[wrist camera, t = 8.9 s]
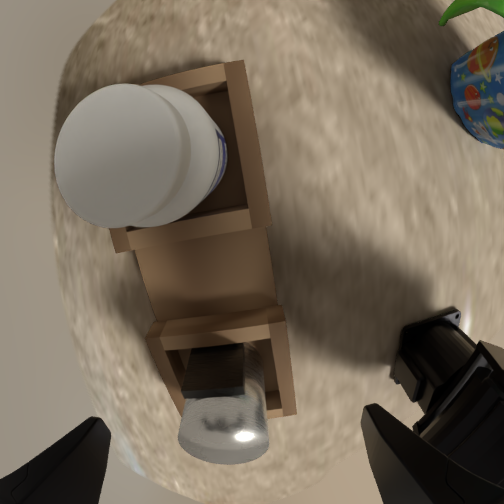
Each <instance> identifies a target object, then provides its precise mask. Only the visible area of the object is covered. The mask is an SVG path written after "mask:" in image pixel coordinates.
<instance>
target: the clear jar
mask: <svg viewBox="0 0 504 504" xmlns="http://www.w3.org/2000/svg"><path fill="white" fill-rule="evenodd" d="M181 393H182V395H183V397H184V399H186V401H185V405H184V410H183V414H182V419H181V424H180V428H179V433H178V441H179V444H180V446H181V447H182V448H183V449H184V450H185V451H186V452H187V453H189V454H190V455H192V456H194V457H196V458H198V459H200V460H203V461H206V462H211V463H216V464H227V465H228V464H241V463H246V462H250V461H253V460H255V459H257V458H259V457H261V456H262V455H263V454H264V453H265V452H266V451H267V450H268V447H269V435H268V422H267V410H266V398H265V385H264V373H263V362H262V358H261V355H260V354H259V352H258V351H257V350H256V349H255V348H254V347H253V346H252V345H250V344H249V343H247V342H241V343H234V344H226V345H217V346H208V347H199V348H192V349H191V353H190V357H189V361H188V365H187V369H186V372H185V376H184V380H183V384H182V388H181Z"/></svg>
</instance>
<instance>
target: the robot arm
mask: <svg viewBox="0 0 504 504" xmlns="http://www.w3.org/2000/svg"><path fill="white" fill-rule="evenodd" d="M460 318H461V312H460V311H459V310H457V309H456V310H453V311H450V312H447V313H445V314H442V315H439V316H436V317H433V318H430V319H427V320H424V321H421V322H417V323H414V324H411V325H408V326H405V327H404V328H403V329H402V331H401V338H400V345H399V351H398V353H397V358H396V364H395V370H394V374H395V375H394V382H395V383H396V384H401V385H402V387H403V389H404V390H405V392H406V394H407V395H408V397H409V399H410V400H411V401H412V402H413V403H414V402H418V404H419V406H420V407H421V409H422V411H423V412H424V414H425V415H424V416H423V417H422V418H421V419H420V420H419V421H417V422H416V423H415V424H414V425H413V426H412V427H413V431H412V430H411V429H409V428H408V427H407V426H405V425H404V424H403V423H402V422H400V421H399V420H398V419H396V418H395V417H394V416H392V415H391V414H390V413H389V412H387V411H386V410H385V409H384V408H382V407H381V406H380V405H378V404H377V403H373V404H370V405H366V406H365V407H364V409H363V413H362V418H361V427H362V432H363V436H364V441H365V445H366V450H367V454H368V459H369V463H370V466H371V469H372V472H373V475H374V478H375V480H376V483H377V486H378V489H379V492H380V495H381V498H382V501H383V504H504V349H503V348H501V347H498V346H495V345H492V344H490V343H487V342H484V341H481V340H479V342H478V344H477V345H476V344H475V343H474V342H473V341H472V340H471V339H470V338H469V337H468V336H467V335H466V334H465V333H464V332H463V331H462V330H461V329H460V328H459V322H460ZM407 331H408V332H407ZM406 332H407V333H406ZM110 440H111V432H110V430H109V429H108V427H107V426H106V424H105V423H104V421H103V420H102V419H101V418H99V417H93V416H92V417H89V418H88V419H86V420H85V421H84V422H82V423H81V424H80V425H79V426H77V427H76V428H75V429H73V430H72V431H70V432H69V433H68V434H66V435H65V436H64V437H63V438H61V439H60V440H58V441H57V442H55V443H54V444H53V445H51V446H50V447H49V448H47V449H46V450H44V451H43V452H42V453H40V454H39V455H38V456H36V457H35V458H33V459H32V460H30V461H29V462H28V463H26V464H25V465H23V466H22V467H20V468H19V469H17V470H16V471H14V472H12V473H11V474H9V475H7V476H5V477H3V478H2V479H0V504H98V503H99V498H100V494H101V489H102V485H103V481H104V477H105V472H106V468H107V460H108V454H109V447H110Z"/></svg>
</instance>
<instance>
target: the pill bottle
mask: <svg viewBox="0 0 504 504" xmlns="http://www.w3.org/2000/svg"><path fill="white" fill-rule="evenodd" d="M227 161H228V150H227V144H226V141H225V138H224V135H223V134H222V132H221V130H220V128H219V127H218V126H217V124H216V123H215V122H214V121H213V120H212V119H211V117H210V116H209V115H208V113H207V112H206V111H205V109H204V108H203V107H202V106H201V105H200V104H199V103H198V102H197V101H196V100H195V99H194V98H193V97H191V96H190V95H189V94H187V93H185V92H183V91H181V90H179V89H177V88H174V87H170V86H165V85H144V86H139V85H135V84H127V83H126V84H115V85H109V86H106V87H103V88H101V89H99V90H97V91H95V92H93V93H91V94H90V95H88V96H87V97H86V98H84V99H83V100H82V101H81V102H80V103H78V104H77V106H76V107H75V108H74V109H73V110H72V112H71V113H70V114H69V116H68V117H67V119H66V121H65V122H64V124H63V126H62V128H61V131H60V133H59V136H58V139H57V143H56V148H55V155H54V168H55V176H56V181H57V185H58V188H59V190H60V193H61V195H62V197H63V199H64V200H65V202H66V204H67V205H68V206H69V207H70V208H71V210H72V211H73V212H74V213H75V214H76V215H78V216H79V217H80V218H82V219H83V220H85V221H87V222H89V223H91V224H93V225H96V226H99V227H104V228H122V227H126V226H135V227H155V226H161V225H165V224H168V223H170V222H173V221H175V220H177V219H179V218H181V217H183V216H184V215H186V214H188V213H189V212H190V211H191V210H193V209H194V208H195V207H196V206H197V205H198V204H199V203H201V202H202V201H203V200H204V199H205V198H206V197H207V196H208V195H209V194H210V193H211V192H212V191H213V190H214V189H215V188H216V186H217V185H218V184H219V182H220V181H221V179H222V177H223V175H224V173H225V170H226V166H227Z"/></svg>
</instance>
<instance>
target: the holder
mask: <svg viewBox="0 0 504 504" xmlns="http://www.w3.org/2000/svg"><path fill="white" fill-rule="evenodd" d="M144 85H165V86H170V87H174V88H177V89H179V90H181V91H183V92H185V93H187V94H189V95H190V96H191V97H193V98H194V99H195V100H196V101H197V102H198V103H199V104H200V105H201V106H202V107H203V108H204V109H205V111H206V112H207V113H208V115H209V116H210V117H211V119H212V120H213V121H214V122H215V123H216V124H217V126H218V127H219V128H220V130H221V132H222V134H223V135H224V138H225V141H226V144H227V150H228V161H227V166H226V170H225V173H224V175H223V177H222V179H221V181H220V182H219V184H218V185H217V186H216V188H215V189H214V190H213V191H212V192H211V193H210V194H209V195H208V196H207V197H206V198H205V199H204V200H203V201H202V202H201V203H199V204H198V205H197V206H196V207H195V208H194V209H193V210H191V211H190V212H189V213H188V214H186V215H184V216H183V217H181V218H179V219H177V220H175V221H173V222H170V223H168V224H165V225H161V226H155V227H135V226H126V227H122V228H109V230H110V234H111V238H112V241H113V245H114V249H115V252H116V253H120V252H125V251H130V250H135V253H136V257H137V260H138V264H139V267H140V271H141V274H142V277H143V281H144V284H145V287H146V290H147V293H148V296H149V299H150V303H151V306H152V308H153V311H154V314H155V317H156V320H157V322H153V324H152V326H151V328H150V330H149V332H148V334H147V336H146V337H145V340H146V342H147V345H148V347H149V349H150V352H151V354H152V356H153V359H154V361H155V363H156V366H157V368H158V370H159V372H160V375H161V377H162V379H163V381H164V383H165V385H166V387H167V390H168V392H169V394H170V396H171V398H172V400H173V402H174V404H175V406H176V408H177V410H178V412H179V413H180V415H181V417H182V414H183V410H184V405H185V401H186V399H184V397H183V395H182V393H181V388H182V384H183V380H184V376H185V372H186V369H187V365H188V361H189V357H190V353H191V349H192V348H199V347H208V346H217V345H226V344H234V343H241V342H247V343H249V344H250V345H252V346H253V347H254V348H255V349H256V350H257V351H258V352H259V354H260V355H261V358H262V362H263V373H264V385H265V398H266V410H267V419H270V418H277V417H284V416H290V415H296V414H297V410H296V401H295V392H294V383H293V375H292V366H291V358H290V350H289V342H288V334H287V326H286V320H285V316H284V311H283V307H282V305H278V303H277V296H276V289H275V282H274V276H273V269H272V262H271V256H270V249H269V243H268V236H267V230H266V226H271V225H272V220H271V214H270V207H269V201H268V195H267V189H266V182H265V176H264V170H263V164H262V158H261V152H260V146H259V141H258V135H257V129H256V123H255V118H254V112H253V107H252V101H251V96H250V90H249V85H248V80H247V74H246V69H245V64H244V60H240V61H233V62H227V63H222V64H216V65H211V66H206V67H201V68H197V69H192V70H188V71H184V72H180V73H176V74H172V75H169V76H165V77H161V78H158V79H155V80H151V81H148V82H145V83H142V84H139V86H144Z"/></svg>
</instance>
